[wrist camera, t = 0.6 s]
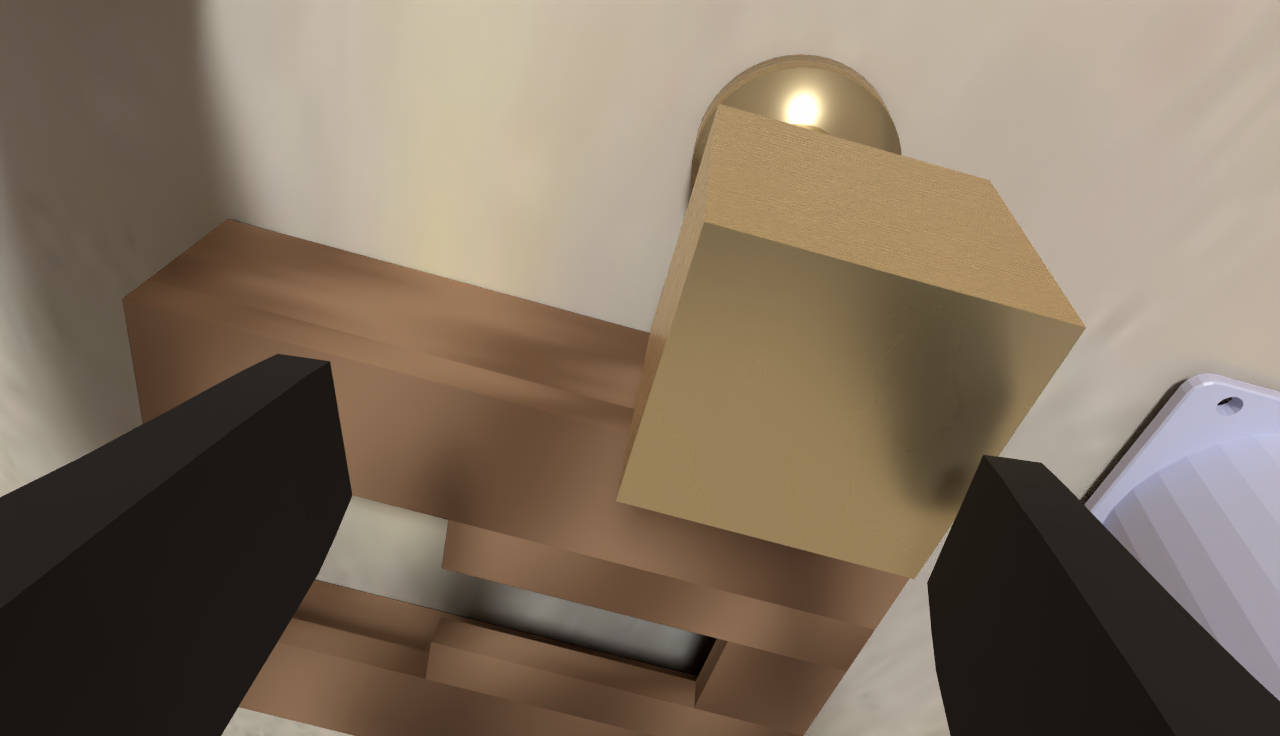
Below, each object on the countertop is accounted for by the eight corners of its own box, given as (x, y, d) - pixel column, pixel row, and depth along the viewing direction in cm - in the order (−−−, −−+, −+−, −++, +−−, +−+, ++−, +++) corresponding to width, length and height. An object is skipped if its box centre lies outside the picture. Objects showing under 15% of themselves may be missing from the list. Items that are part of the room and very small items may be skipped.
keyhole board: (918, 405, 19) (950, 518, 16) (740, 715, 27) (739, 829, 24) (227, 218, 19) (122, 299, 16) (253, 592, 27) (187, 694, 24)
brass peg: (928, 87, 15) (1085, 328, 8) (848, 267, 18) (914, 578, 10) (727, 29, 15) (703, 222, 8) (672, 218, 17) (615, 501, 10)
